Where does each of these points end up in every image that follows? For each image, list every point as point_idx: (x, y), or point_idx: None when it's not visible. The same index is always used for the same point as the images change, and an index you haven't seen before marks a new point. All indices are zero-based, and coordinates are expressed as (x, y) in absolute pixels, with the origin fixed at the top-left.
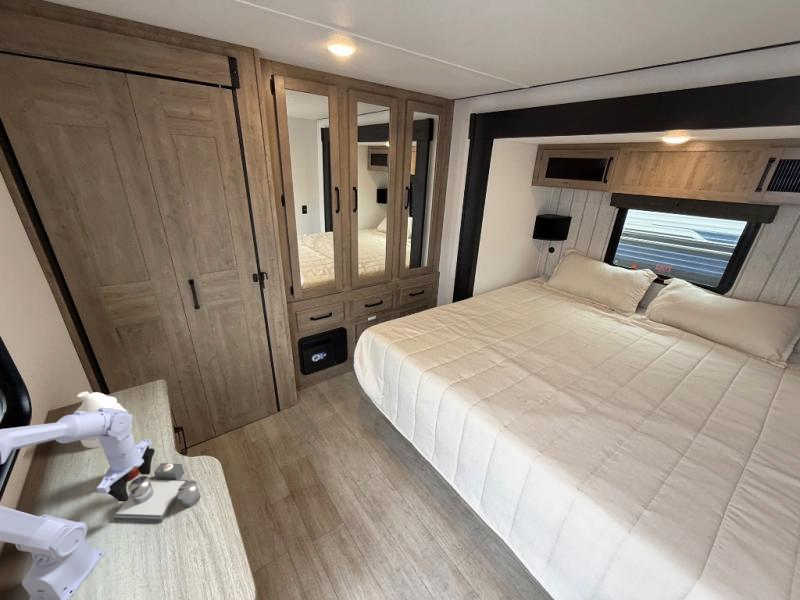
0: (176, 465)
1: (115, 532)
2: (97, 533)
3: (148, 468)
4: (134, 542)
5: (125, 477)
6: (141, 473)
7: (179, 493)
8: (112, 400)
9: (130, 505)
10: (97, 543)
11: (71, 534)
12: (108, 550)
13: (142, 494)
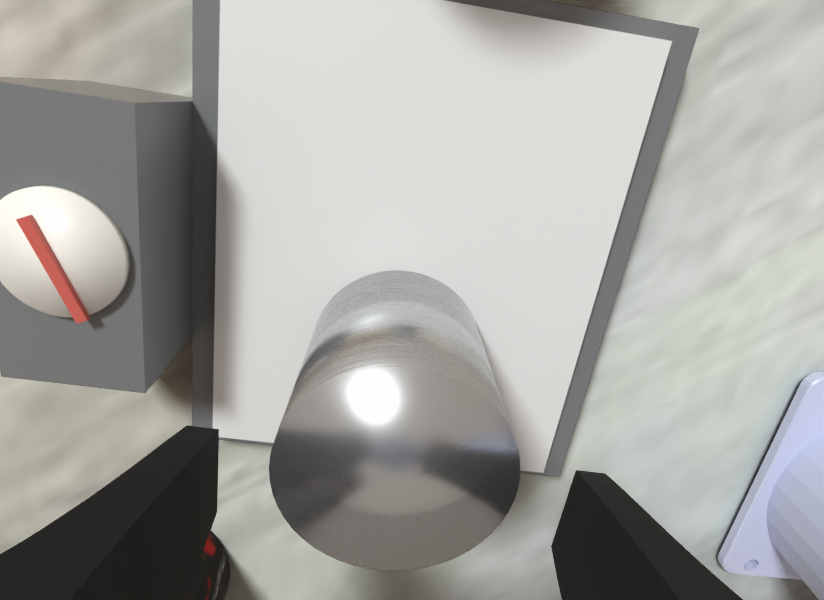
0: (2, 144)
1: (657, 389)
2: (629, 495)
3: (159, 496)
4: (804, 197)
5: (199, 586)
6: (210, 520)
7: None
8: None
9: None
10: (710, 455)
11: None
12: (797, 358)
13: (482, 352)
